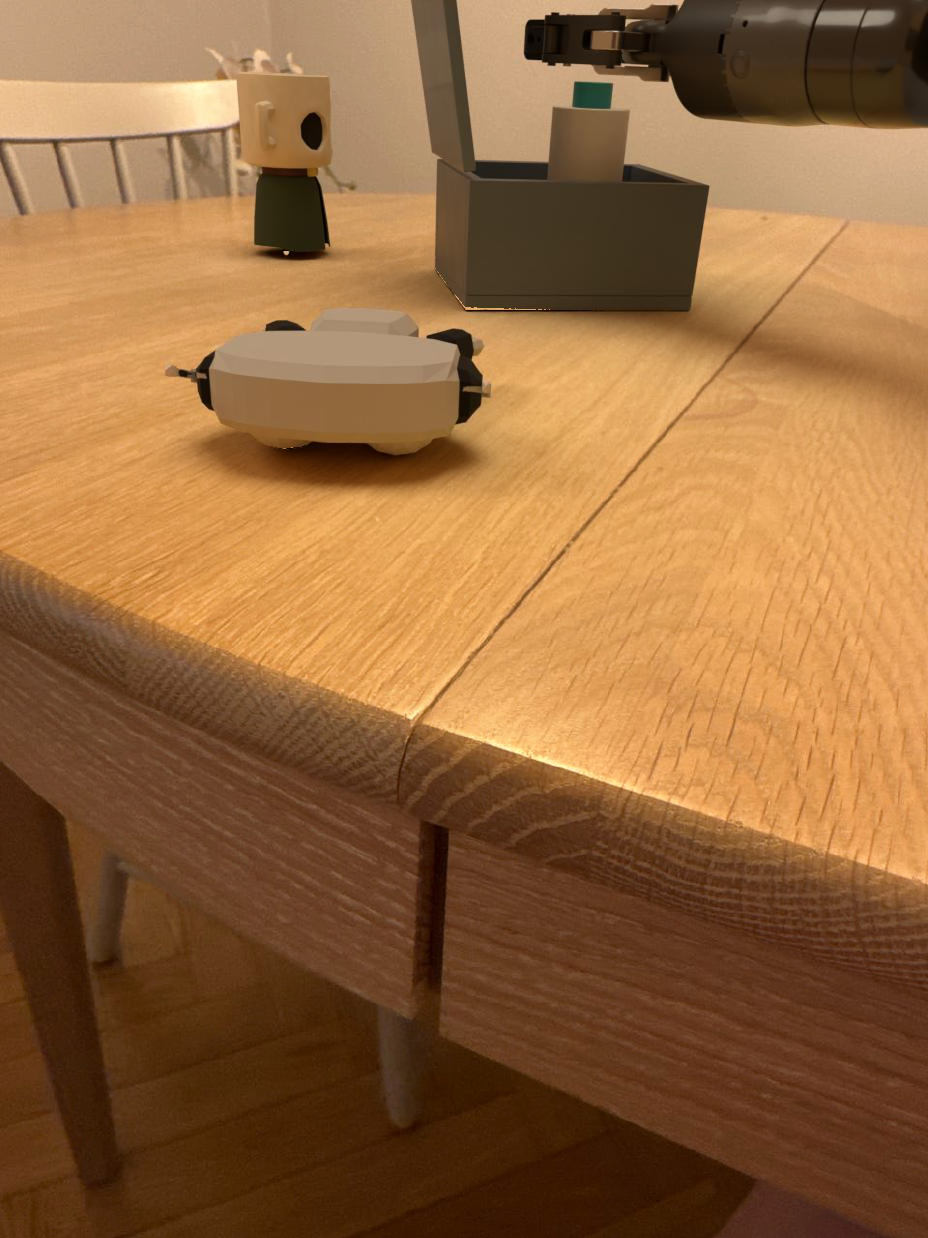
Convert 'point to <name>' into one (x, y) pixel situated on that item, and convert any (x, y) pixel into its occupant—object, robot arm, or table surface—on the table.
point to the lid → (444, 81)
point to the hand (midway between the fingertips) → (577, 42)
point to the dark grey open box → (568, 238)
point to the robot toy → (343, 381)
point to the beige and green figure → (287, 155)
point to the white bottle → (588, 136)
